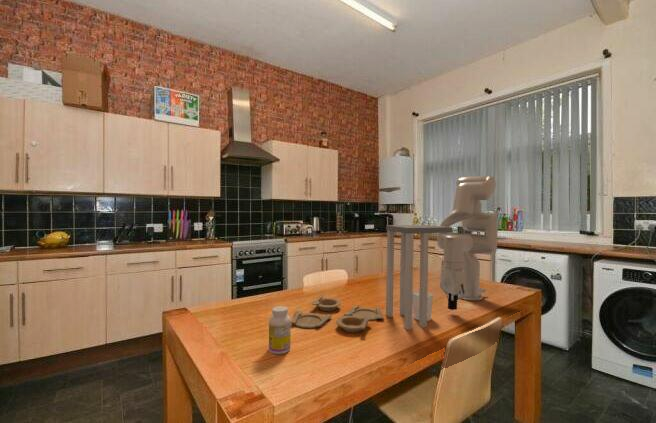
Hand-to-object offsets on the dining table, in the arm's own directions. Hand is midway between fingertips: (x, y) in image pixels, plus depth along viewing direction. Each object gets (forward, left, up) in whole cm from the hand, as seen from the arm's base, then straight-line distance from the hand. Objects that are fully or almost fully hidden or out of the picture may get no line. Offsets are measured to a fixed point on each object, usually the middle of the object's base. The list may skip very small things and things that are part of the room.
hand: (452, 308), depth 124 cm
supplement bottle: (+74, +8, -3) cm, 74 cm away
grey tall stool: (+18, 0, -2) cm, 18 cm away
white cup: (+15, 0, -3) cm, 15 cm away
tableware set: (+47, -11, -3) cm, 48 cm away
